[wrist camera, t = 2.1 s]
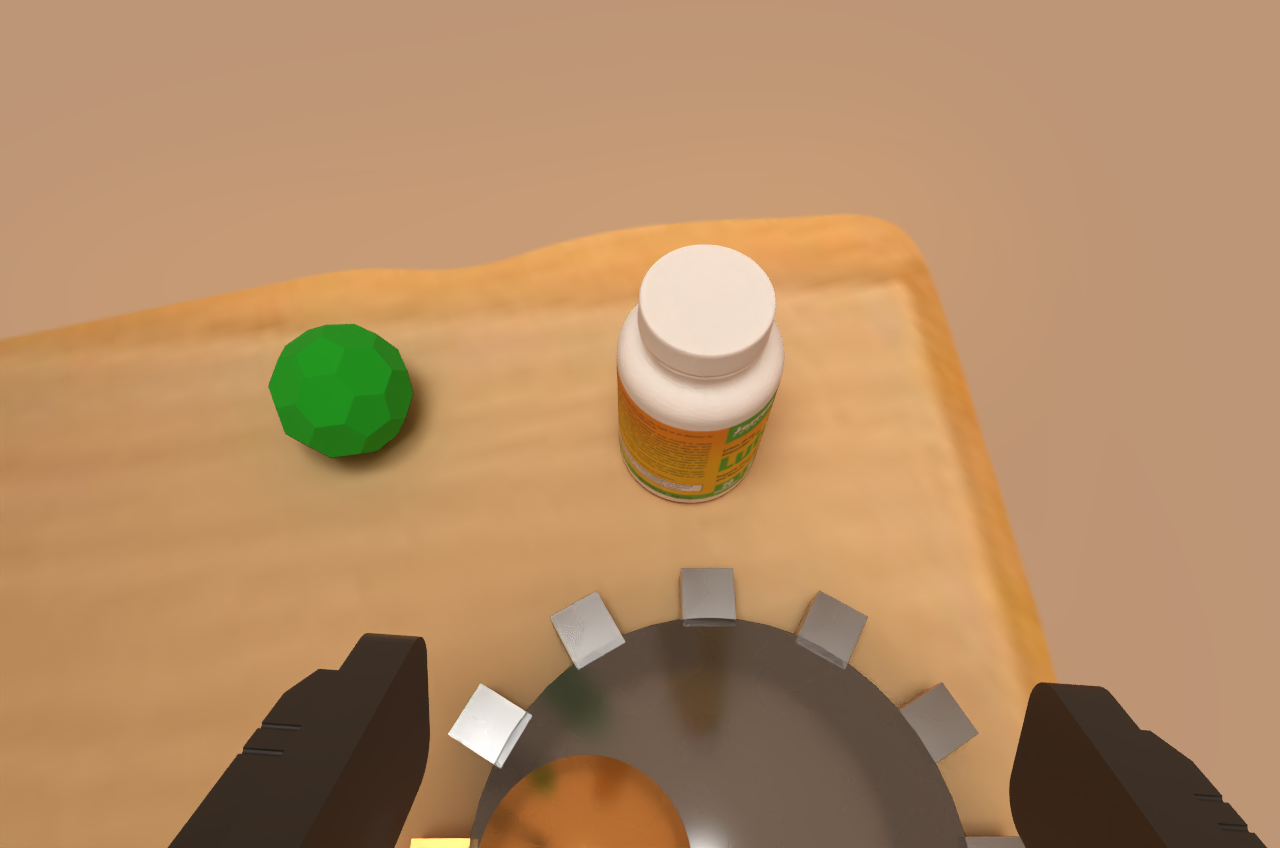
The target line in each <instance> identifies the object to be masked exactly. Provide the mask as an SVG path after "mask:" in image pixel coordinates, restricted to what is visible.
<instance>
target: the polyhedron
mask: <svg viewBox="0 0 1280 848" xmlns="http://www.w3.org/2000/svg"><path fill="white" fill-rule="evenodd" d="M269 389H270V392H271V395H272V398H273V401H274V404H275V407H276V410H277V412H278V415H279V418H280V420H281V423H282V426H283V429H284V431H285V434H286V435H288V436H290V437H292V438H294V439H296V440H298V441H299V442H301V443H303V444H305V445H307V446H309V447H311V448H313V449H315V450H316V451H318V452H320V453H322V454H324V455H326V456H328V457H330V458H332V457H340V456H347V455H355V454H362V453H369V452H376V451H378V450H379V449H380V448H381V447H383V446H384V445H385V444H386V443H388V442H389V441H390V440H392V439H393V438H394V437H395V436H397V435H398V433H399V431H400V428H401V426H402V424H403V422H404V420H405V418H406V415H407V412H408V409H409V406H410V402H411V399H412V396H413V391H412V387H411V383H410V379H409V376H408V372H407V369H406V367H405V365H404V362H403V360H402V358H401V355H400V353H399V351H398V349H397V348H395V347H394V346H392V345H391V344H390V343H388V342H387V341H385V340H384V339H383V338H381V337H380V336H378V335H377V334H375V333H373V332H371V331H368V330H366V329H364V328H362V327H360V326H358V325H356V324H340V325H324V326H320V327H317V328H313V329H310V330H307V331H306V332H305V333H303V334H302V335H300V336H299V337H297V338H296V339H295V340H293V341H292V342H290V343H289V344H287V345H286V346H285V347H284V349H283V351H282V353H281V355H280V357H279V358H278V361H277V364H276V366H275V369H274V372H273V375H272V377H271V380H270V383H269Z"/></svg>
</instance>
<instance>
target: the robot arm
mask: <svg viewBox="0 0 1280 848" xmlns="http://www.w3.org/2000/svg"><path fill="white" fill-rule="evenodd" d="M429 741H430V725H429V698H428V670H427V649H426V644H425V641H424V639H423V638H422V637H416V636H401V635H387V634H373V633H366V634H364V635H363V636H362V637H361V638H360V640H359V641H358V643H357V644H356V645H355V647H354V648H353V650H352V651H351V653H350V654H349V656H348V657H347V659H346V660H345V662H344V663H343V665H342V666H341V668H340V669H339V670H326V669H318V670H317V671H315V672H314V673H312V674H311V675H309V676H308V677H306V678H305V679H304V680H302V681H301V682H299V683H298V684H296V685H295V686H293V687H292V688H291V689H289V690H288V691H286V692H285V693H284V694H283V695H282V696H281V698H280V699H279V700H278V702H277V703H276V704H275V706H274V707H273V708H272V710H271V711H270V712H269V714H268V715H267V716H266V718H265V719H264V720H263V722H262V726H261V729H260V728H257V730H256V731H255V732H254V734H253V735H252V736H251V738H250V739H249V740H248V742H247V743H246V744H245V746H244V747H243V752H242V754H238V755H237V756H236V758H235V759H234V760H233V762H232V763H231V764H230V766H229V767H228V768H227V770H226V771H225V772H224V774H223V775H222V776H221V778H220V779H219V780H218V782H217V783H216V784H215V786H214V787H213V788H212V790H211V791H210V792H209V794H208V795H207V796H206V798H205V799H204V800H203V802H202V803H201V804H200V806H199V807H198V808H197V810H196V811H195V812H194V814H193V815H192V816H191V818H190V819H189V820H188V822H187V823H186V824H185V826H184V827H183V828H182V830H181V831H180V832H179V834H178V835H177V836H176V838H175V839H174V840H173V842H172V843H171V844H170V845H169V847H168V848H394V847H395V845H396V842H397V840H398V837H399V835H400V833H401V830H402V828H403V825H404V823H405V821H406V818H407V816H408V814H409V811H410V809H411V806H412V804H413V802H414V799H415V797H416V794H417V792H418V790H419V787H420V785H421V782H422V779H423V776H424V772H425V768H426V763H427V758H428V751H429ZM1009 796H1010V806H1011V812H1012V817H1013V821H1014V824H1015V827H1016V829H1017V832H1018V834H1019V836H1020V838H1021V840H1022V842H1023V844H1024V846H1025V848H1267V847H1266V846H1265V845H1264V844H1263V843H1262V841H1261V840H1260V839H1259V838H1258V837H1257V835H1256V834H1255V833H1249V831H1248V828H1247V824H1246V823H1245V822H1244V820H1243V819H1242V818H1241V817H1240V816H1239V815H1238V814H1237V812H1236V811H1235V810H1234V809H1233V808H1232V807H1231V805H1230V804H1229V803H1224V802H1223V800H1222V795H1221V794H1220V793H1219V792H1218V790H1217V789H1216V788H1215V787H1214V786H1213V785H1212V784H1211V782H1210V781H1209V780H1208V779H1207V778H1206V777H1205V775H1204V774H1203V773H1202V772H1201V771H1200V770H1199V768H1197V766H1196V765H1195V764H1194V763H1193V762H1192V761H1191V760H1190V759H1188V758H1187V757H1186V756H1184V755H1183V754H1181V753H1180V752H1179V751H1177V750H1176V749H1175V748H1173V747H1172V746H1170V745H1169V744H1168V743H1166V742H1165V741H1164V740H1162V739H1161V738H1159V737H1158V736H1157V735H1155V734H1154V733H1152V732H1151V731H1147V730H1140V729H1139V727H1138V726H1137V725H1136V724H1135V723H1134V722H1133V720H1132V719H1131V718H1130V716H1129V715H1128V714H1127V713H1126V712H1125V710H1123V708H1122V707H1121V705H1120V704H1119V703H1118V702H1117V701H1116V699H1115V698H1114V697H1113V696H1112V695H1111V693H1110V692H1109V691H1108V690H1106V689H1104V688H1103V687H1100V686H1085V685H1072V684H1058V683H1042V682H1041V683H1038V684H1037V685H1036V686H1035V687H1034V688H1033V690H1032V692H1031V694H1030V698H1029V701H1028V706H1027V710H1026V714H1025V718H1024V723H1023V727H1022V731H1021V735H1020V739H1019V744H1018V748H1017V752H1016V756H1015V760H1014V765H1013V769H1012V773H1011V778H1010V786H1009Z"/></svg>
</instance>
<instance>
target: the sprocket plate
mask: <svg viewBox="0 0 1280 848" xmlns="http://www.w3.org/2000/svg"><path fill="white" fill-rule="evenodd" d="M679 598H680V620H675V621H670V622H665V623H660V624H655V625H651V626H648V627H645V628H642V629H639V630H636V631H633V632H630V633H627V634H625V635H621V633H620V631H619V629H618V628H617V626H616V624H615V622H614V621H613V619H612V617H611V615H610V613H609V612H608V610H607V608H606V606H605V605H604V603H603V601H602V599H601V598H600V596H599V594H598V592H597V591H595V592H593V593H592V594H590V595H588V596H586V597H585V598H583V599H581V600H579V601H577V602H576V603H574V604H572V605H570V606H569V607H567V608H565V609H563V610H561V611H560V612H558V613H556V614H554V615H553V616H551V617H550V619H551V621H552V624H553V626H554V629H555V630H556V632H557V634H558V636H559V638H560V640H561V642H562V644H563V646H564V647H565V649H566V651H567V653H568V655H569V657H570V659H571V661H572V663H573V665H572V666H570V667H569V668H568V669H567V670H566V671H565V672H564V673H562V674H561V675H560V676H559V677H558V678H557V679H556V680H554V681H553V682H552V683H551V684H550V685H549V686H548V687H547V688H546V689H545V690H544V691H543V693H542V694H541V695H540V696H539V697H538V698H537V699H536V700H535V702H534V703H533V704H532V705H531V706H530V707H529V708H528V709H527V711H524V710H523V709H521V708H520V707H518V706H516V705H515V704H513V703H512V702H510V701H508V700H507V699H505V698H504V697H502V696H501V695H499V694H497V693H496V692H494V691H493V690H491V689H489V688H488V687H486V686H485V685H483V684H481V683H480V685H479V687H478V688H477V690H476V691H475V693H474V694H473V696H472V698H471V699H470V701H469V702H468V704H467V705H466V707H465V708H464V710H463V712H462V713H461V715H460V716H459V718H458V719H457V721H456V723H455V724H454V726H453V727H452V729H451V730H450V732H449V733H448V735H450V736H451V737H453V738H454V739H456V740H457V741H459V742H460V743H462V744H463V745H465V746H466V747H468V748H470V749H471V750H473V751H474V752H476V753H477V754H479V755H480V756H482V757H483V758H485V759H486V760H488V761H489V762H491V763H492V764H494V765H493V767H492V770H491V773H490V775H489V778H488V780H487V783H486V785H485V788H484V791H483V793H482V796H481V798H480V801H479V805H478V809H477V813H476V817H475V821H474V825H473V828H472V832H471V837H470V838H413V839H411V847H410V848H1025V846H1024V844H1023V842H1022V840H1021V838H1020V837H1016V836H965V834H964V831H963V828H962V825H961V822H960V819H959V816H958V813H957V810H956V807H955V804H954V801H953V799H952V796H951V794H950V792H949V790H948V788H947V786H946V784H945V781H944V779H943V777H942V775H941V773H940V771H939V769H938V767H937V765H936V763H937V762H938V761H940V760H941V759H943V758H944V757H946V756H947V755H948V754H950V753H951V752H953V751H954V750H956V749H957V748H958V747H960V746H961V745H963V744H964V743H966V742H967V741H968V740H970V739H971V738H973V737H974V736H976V735H977V734H978V732H977V730H976V729H975V727H974V726H973V725H972V723H971V722H970V720H969V719H968V718H967V716H966V715H965V714H964V712H963V711H962V709H961V708H960V707H959V705H958V704H957V702H956V701H955V700H954V698H953V697H952V696H951V694H950V693H949V691H948V690H947V689H946V687H945V686H944V684H943V683H940V684H937V685H935V686H933V687H931V688H929V689H927V690H925V691H924V692H922V693H921V694H919V695H918V696H916V697H915V698H913V699H912V700H910V701H909V702H907V703H906V704H904V705H903V706H901V707H900V708H897V707H896V706H895V705H894V704H893V703H892V702H891V701H890V700H889V699H888V698H887V697H886V696H885V695H884V694H883V693H882V692H881V691H880V690H879V689H878V688H877V687H876V686H875V685H874V684H873V683H872V682H871V681H869V680H868V679H867V678H866V677H864V676H863V675H862V674H861V673H860V672H858V671H857V670H856V669H855V668H853V667H852V666H851V665H850V664H848V661H849V659H850V657H851V654H852V652H853V650H854V648H855V645H856V643H857V641H858V638H859V636H860V634H861V632H862V629H863V627H864V625H865V623H866V620H867V618H868V617H867V616H866V615H864V614H862V613H860V612H858V611H856V610H854V609H853V608H851V607H849V606H847V605H845V604H843V603H841V602H840V601H838V600H836V599H834V598H832V597H830V596H828V595H827V594H825V593H823V592H821V591H819V592H818V593H817V594H816V595H815V597H814V598H813V599H812V601H811V602H810V604H809V606H808V608H807V610H806V612H805V614H804V616H803V619H802V621H801V623H800V625H799V627H798V629H797V631H796V633H795V634H793V633H790V632H787V631H784V630H781V629H778V628H775V627H772V626H769V625H765V624H759V623H754V622H749V621H744V620H739V619H736V610H735V592H734V575H733V568H681V573H680V578H679Z"/></svg>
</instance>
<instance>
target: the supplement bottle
mask: <svg viewBox="0 0 1280 848" xmlns="http://www.w3.org/2000/svg"><path fill="white" fill-rule="evenodd" d="M775 311H776V297H775V292H774V289H773V286H772V284H771V281H770V279H769V278H768V276H767V275H766V273H765V272H764V271H763V270H762V268H761V267H760V266H759V265H758V264H757V263H755V262H754V261H753V260H752V259H750V258H749V257H747V256H746V255H744V254H742V253H740V252H738V251H736V250H733V249H730V248H727V247H723V246H718V245H706V244H702V245H691V246H686V247H682V248H679V249H677V250H674V251H672V252H670V253H668V254H666V255H664V256H663V257H662V258H660V259H659V260H658V261H657V262H656V263H655V264H654V265H653V266H652V267H651V268H650V269H649V271H648V272H647V274H646V275H645V277H644V279H643V282H642V284H641V287H640V292H639V303H638V304H637V305H636V306H635V307H634V308H633V309H632V311H631V312H630V313H629V315H628V316H627V318H626V320H625V322H624V324H623V326H622V329H621V332H620V335H619V340H618V346H617V380H618V413H619V441H620V449H621V453H622V457H623V460H624V462H625V464H626V466H627V468H628V470H629V471H630V473H631V474H632V476H633V477H634V478H635V479H636V480H637V481H638V482H639V483H640V484H641V485H642V486H643V487H645V488H646V489H647V490H649V491H650V492H652V493H654V494H656V495H658V496H660V497H662V498H665V499H668V500H671V501H676V502H685V503H696V502H704V501H708V500H712V499H715V498H717V497H720V496H722V495H724V494H725V493H727V492H729V491H730V490H731V489H733V488H734V487H735V486H736V485H737V484H738V483H739V482H740V481H741V480H742V479H743V478H744V477H745V475H746V474H747V472H748V470H749V469H750V467H751V465H752V462H753V460H754V457H755V455H756V452H757V449H758V446H759V443H760V440H761V437H762V434H763V431H764V428H765V425H766V422H767V420H768V417H769V414H770V410H771V407H772V404H773V401H774V398H775V395H776V392H777V389H778V386H779V383H780V379H781V375H782V371H783V366H784V345H783V340H782V336H781V333H780V330H779V328H778V326H777V324H776V322H775V320H774V317H775Z"/></svg>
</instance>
